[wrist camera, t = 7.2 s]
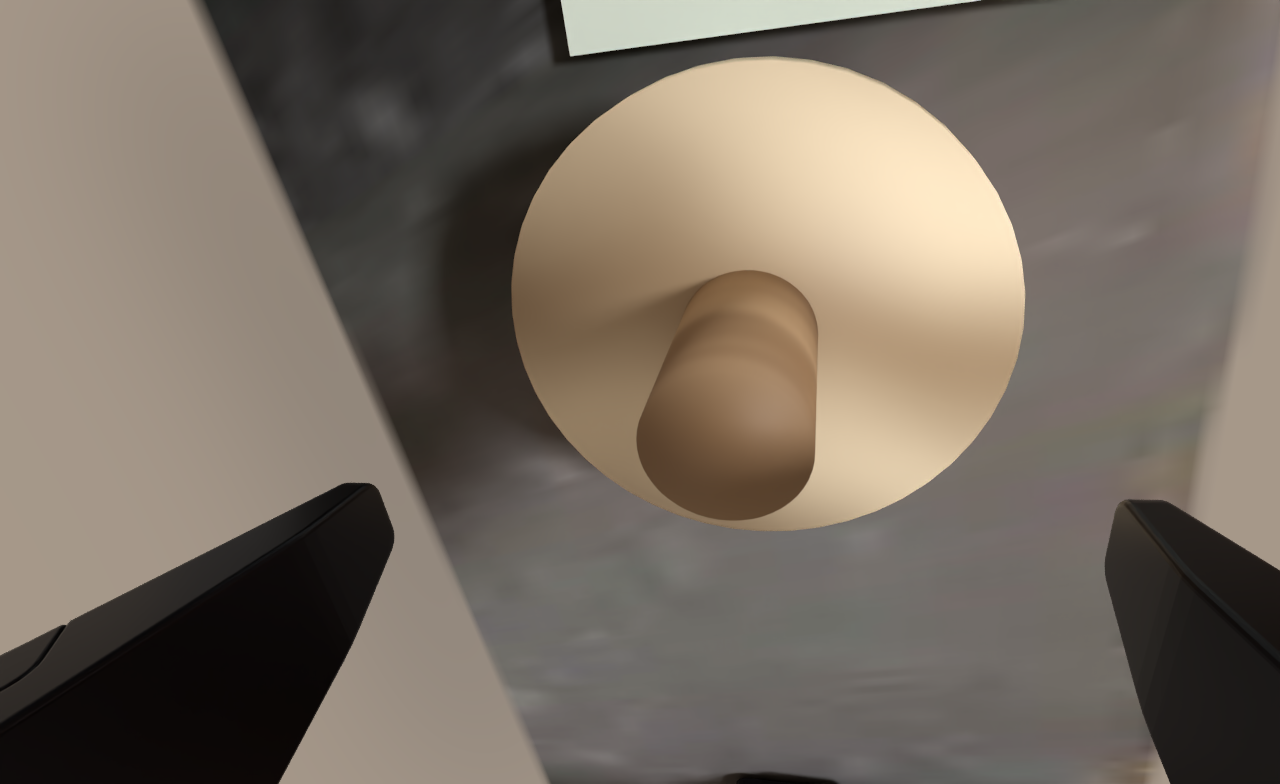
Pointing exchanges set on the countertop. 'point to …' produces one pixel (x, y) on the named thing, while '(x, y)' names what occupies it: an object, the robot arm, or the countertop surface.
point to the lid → (768, 294)
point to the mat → (704, 18)
